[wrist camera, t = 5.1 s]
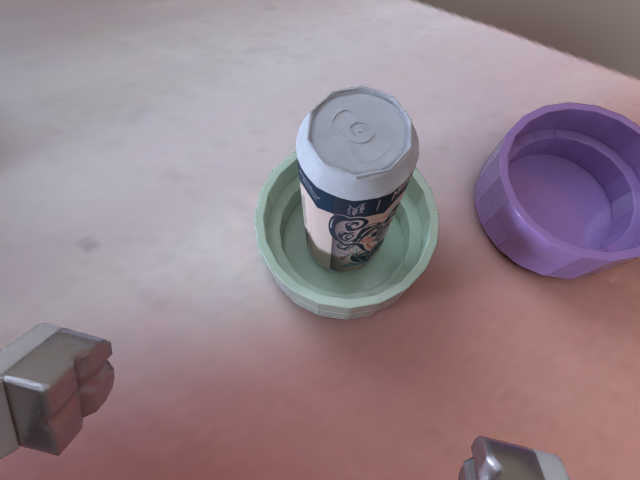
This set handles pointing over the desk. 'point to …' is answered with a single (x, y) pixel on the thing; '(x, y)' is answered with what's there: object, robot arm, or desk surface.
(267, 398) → the desk surface
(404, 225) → the celadon bowl
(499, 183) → the lavender bowl
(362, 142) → the white cylindrical canister
